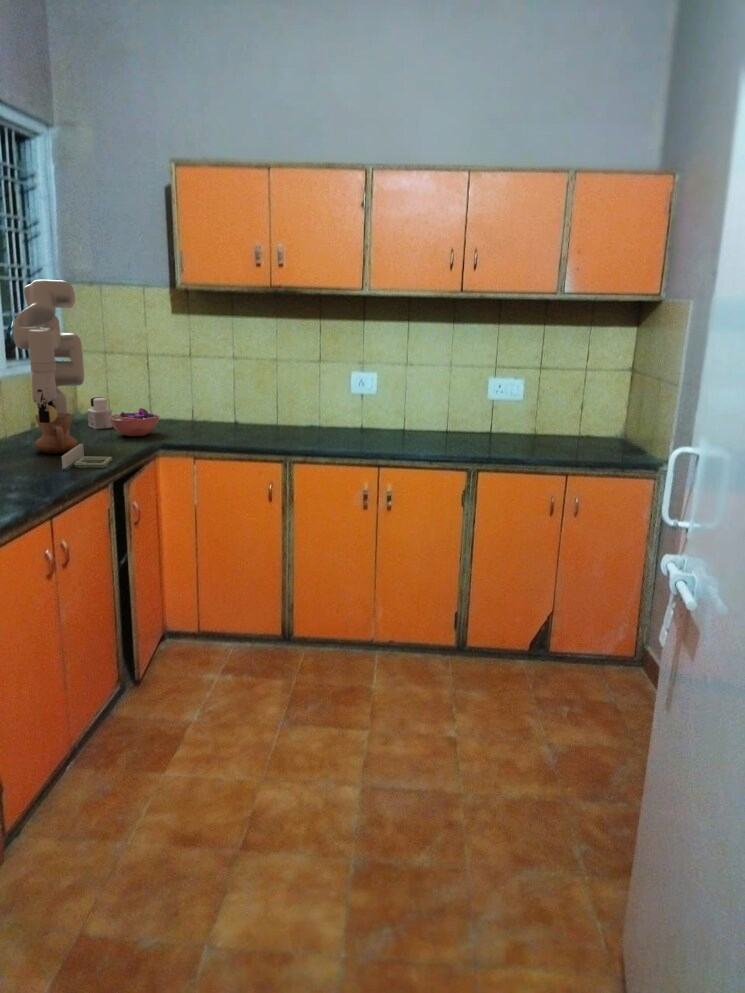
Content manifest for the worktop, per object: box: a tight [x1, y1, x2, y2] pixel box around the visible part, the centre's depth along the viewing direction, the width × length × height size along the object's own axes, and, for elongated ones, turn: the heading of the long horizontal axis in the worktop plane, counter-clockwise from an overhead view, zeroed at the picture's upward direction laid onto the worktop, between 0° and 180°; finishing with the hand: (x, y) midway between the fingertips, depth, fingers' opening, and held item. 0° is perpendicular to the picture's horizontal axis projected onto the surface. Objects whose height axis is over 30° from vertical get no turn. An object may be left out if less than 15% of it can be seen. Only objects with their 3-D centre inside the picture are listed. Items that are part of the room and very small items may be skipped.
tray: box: [73, 455, 113, 466], centre depth 239 cm, size 10×10×2 cm
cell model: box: [110, 407, 161, 437], centre depth 288 cm, size 17×20×11 cm
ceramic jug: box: [34, 412, 78, 455], centre depth 253 cm, size 18×14×14 cm
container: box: [86, 396, 113, 430], centre depth 302 cm, size 8×8×13 cm
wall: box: [61, 443, 85, 469], centre depth 239 cm, size 20×1×5 cm, turn 6°
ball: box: [37, 405, 57, 423], centre depth 233 cm, size 6×6×6 cm
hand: (48, 420), depth 234 cm, fingers closed on ball, 5 cm apart
